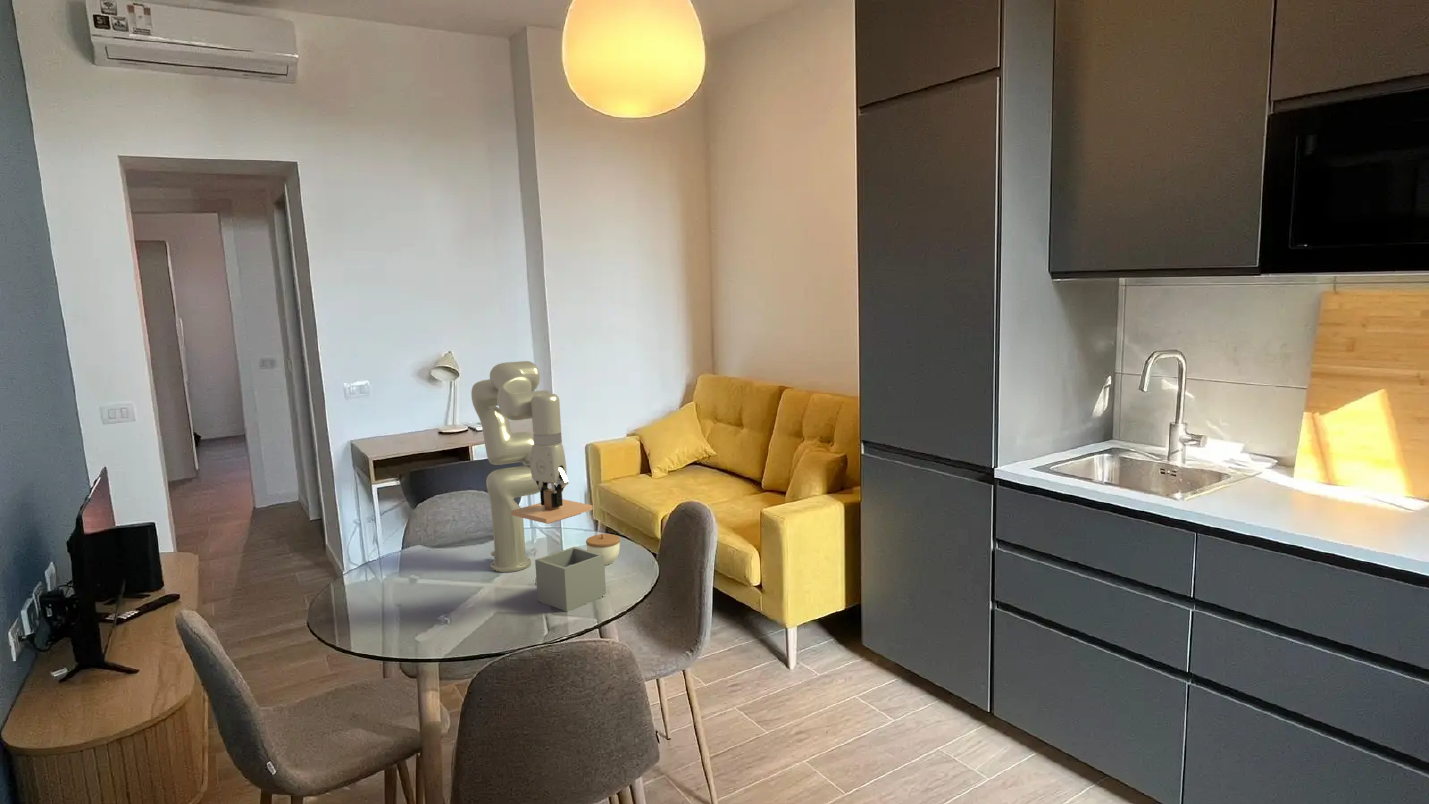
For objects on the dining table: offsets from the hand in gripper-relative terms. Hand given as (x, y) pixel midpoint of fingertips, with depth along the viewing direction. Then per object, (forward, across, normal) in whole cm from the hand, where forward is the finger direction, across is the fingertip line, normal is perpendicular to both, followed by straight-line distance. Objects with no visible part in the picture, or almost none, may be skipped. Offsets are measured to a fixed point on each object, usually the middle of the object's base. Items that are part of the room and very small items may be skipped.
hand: (551, 504), depth 218 cm
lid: (+3, 0, 0) cm, 3 cm away
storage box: (+28, 0, +5) cm, 29 cm away
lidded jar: (+29, -15, +32) cm, 45 cm away
